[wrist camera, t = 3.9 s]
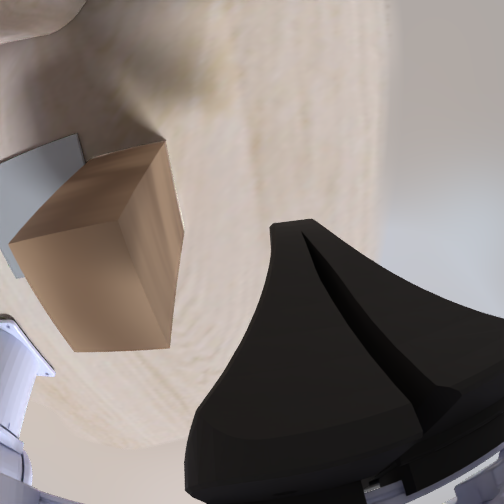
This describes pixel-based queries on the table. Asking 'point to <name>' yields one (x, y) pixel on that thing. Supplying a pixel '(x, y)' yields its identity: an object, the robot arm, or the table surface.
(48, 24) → the cup with straw
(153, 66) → the table surface
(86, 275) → the walnut block
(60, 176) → the mat
